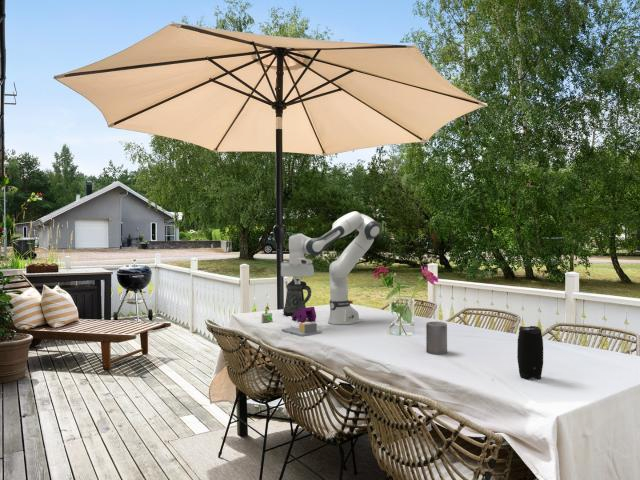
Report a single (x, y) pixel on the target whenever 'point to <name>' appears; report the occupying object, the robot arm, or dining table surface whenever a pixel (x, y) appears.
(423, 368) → the dining table surface
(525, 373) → the portable speaker
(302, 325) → the module
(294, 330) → the backplate
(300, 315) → the mounting bracket
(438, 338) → the pillar candle
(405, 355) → the dining table surface
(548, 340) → the dining table surface
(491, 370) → the dining table surface
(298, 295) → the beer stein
